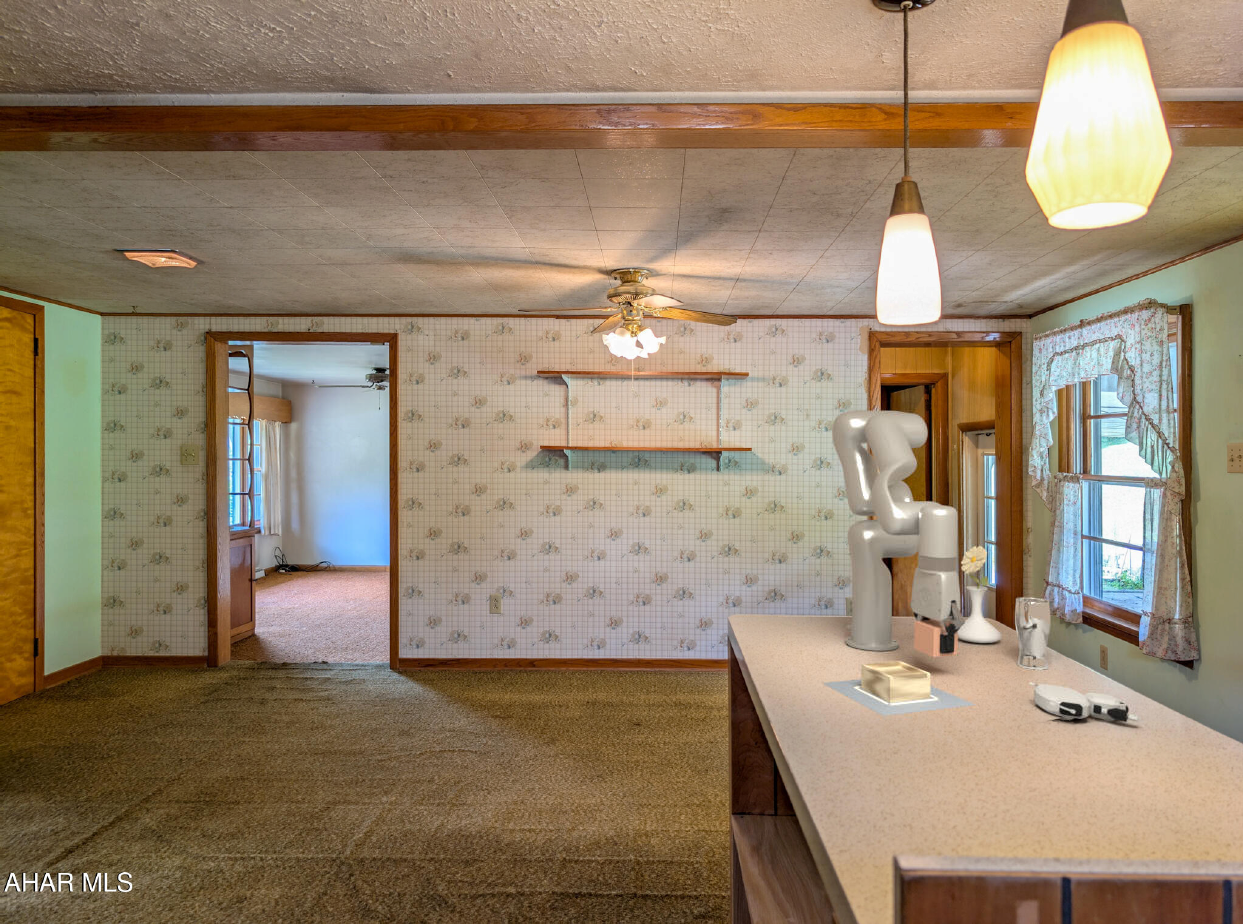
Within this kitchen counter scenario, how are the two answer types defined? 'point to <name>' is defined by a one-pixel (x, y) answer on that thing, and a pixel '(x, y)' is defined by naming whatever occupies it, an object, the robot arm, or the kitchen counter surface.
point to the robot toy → (1080, 704)
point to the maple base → (895, 681)
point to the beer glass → (1032, 631)
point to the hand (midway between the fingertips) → (935, 647)
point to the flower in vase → (977, 601)
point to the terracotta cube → (931, 638)
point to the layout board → (884, 708)
